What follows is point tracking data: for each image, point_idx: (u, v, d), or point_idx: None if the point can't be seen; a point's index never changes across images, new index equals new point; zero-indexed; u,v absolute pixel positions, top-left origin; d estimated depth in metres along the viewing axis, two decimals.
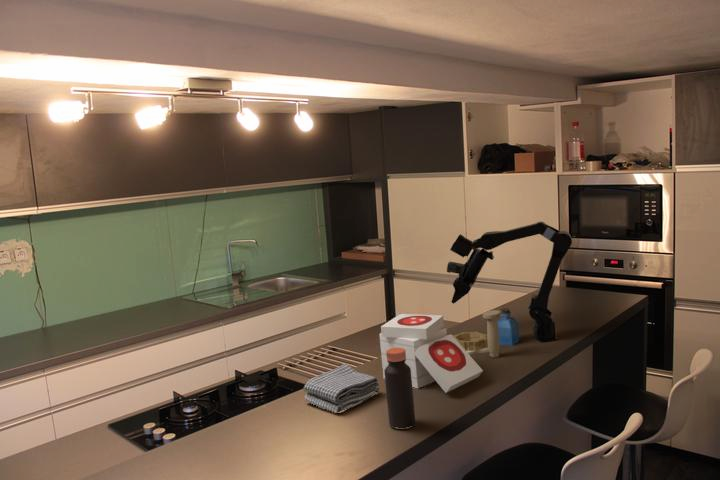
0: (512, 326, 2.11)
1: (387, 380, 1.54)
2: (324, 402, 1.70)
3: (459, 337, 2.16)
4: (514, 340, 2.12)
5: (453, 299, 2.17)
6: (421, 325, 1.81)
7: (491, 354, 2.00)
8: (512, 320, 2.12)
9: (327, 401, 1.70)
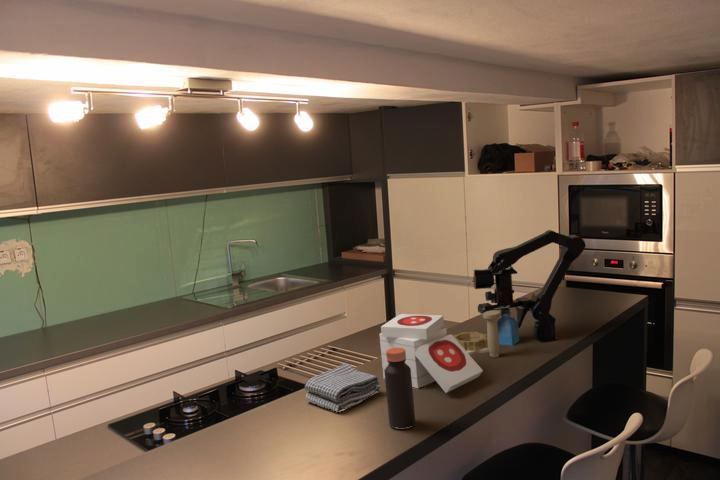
0: (512, 326, 2.11)
1: (387, 380, 1.54)
2: (325, 401, 1.71)
3: (459, 337, 2.16)
4: (514, 340, 2.12)
5: None
6: (421, 325, 1.81)
7: (491, 354, 2.00)
8: (511, 320, 2.12)
9: (328, 400, 1.71)
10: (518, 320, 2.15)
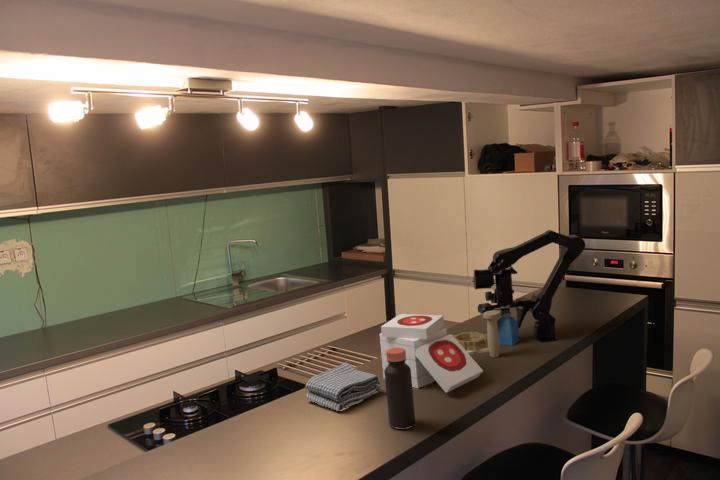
0: (512, 326, 2.11)
1: (387, 380, 1.54)
2: (325, 400, 1.71)
3: (459, 337, 2.16)
4: (514, 340, 2.12)
5: None
6: (422, 325, 1.81)
7: (491, 354, 2.00)
8: (511, 320, 2.12)
9: (329, 399, 1.71)
10: (518, 320, 2.15)
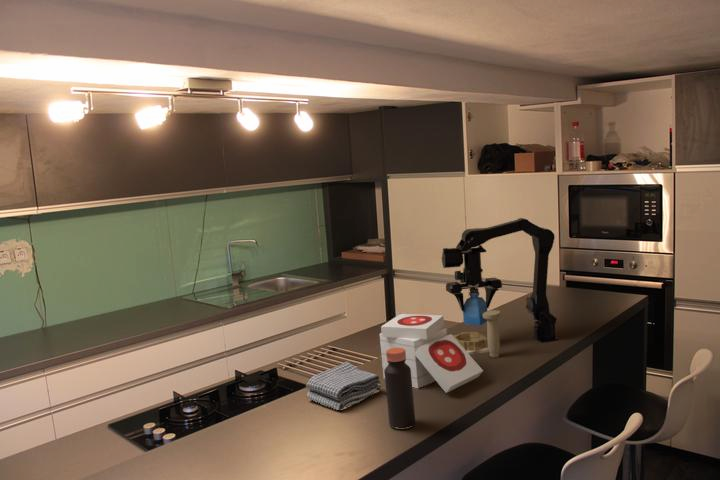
0: (480, 305, 2.08)
1: (387, 380, 1.54)
2: (326, 399, 1.72)
3: (459, 337, 2.16)
4: (482, 320, 2.09)
5: (460, 306, 2.10)
6: (422, 325, 1.81)
7: (491, 354, 2.00)
8: (480, 300, 2.09)
9: (329, 398, 1.72)
10: (486, 300, 2.11)
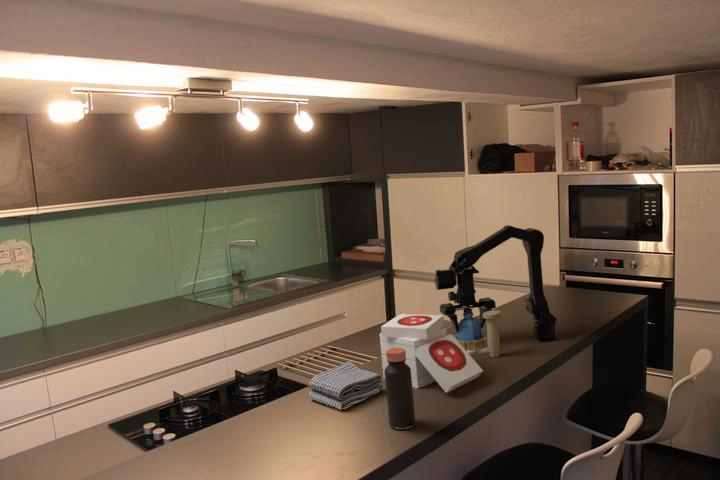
0: (474, 326, 2.08)
1: (387, 380, 1.54)
2: (328, 399, 1.72)
3: None
4: None
5: (454, 327, 2.11)
6: (422, 325, 1.81)
7: (491, 354, 2.00)
8: (474, 321, 2.10)
9: (331, 397, 1.72)
10: (481, 320, 2.12)
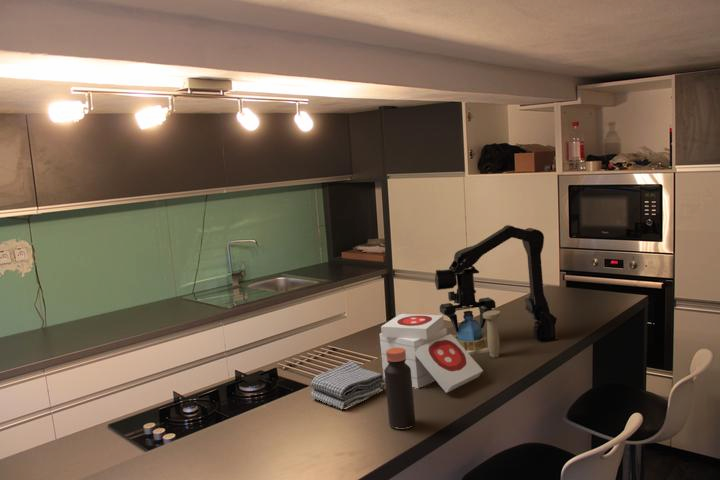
0: (475, 329, 2.09)
1: (387, 380, 1.54)
2: (330, 398, 1.73)
3: None
4: None
5: (454, 327, 2.11)
6: (422, 325, 1.82)
7: (491, 354, 2.00)
8: (474, 323, 2.10)
9: (333, 397, 1.72)
10: (481, 320, 2.12)
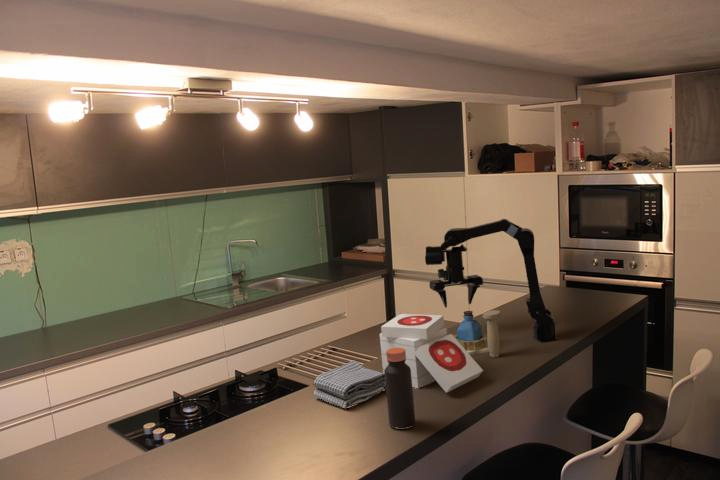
0: (475, 329, 2.09)
1: (387, 380, 1.54)
2: (333, 398, 1.73)
3: None
4: None
5: (443, 303, 2.19)
6: (422, 325, 1.82)
7: (491, 354, 2.00)
8: (474, 323, 2.10)
9: (336, 396, 1.73)
10: (469, 296, 2.20)
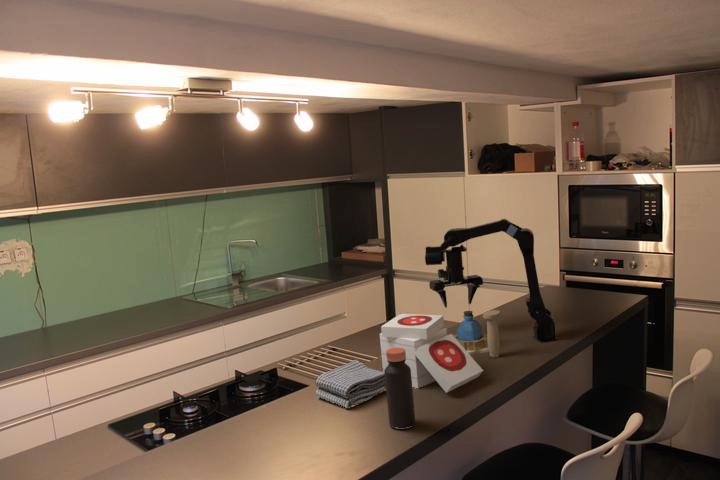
0: (475, 329, 2.09)
1: (387, 380, 1.54)
2: (335, 397, 1.73)
3: None
4: None
5: (443, 303, 2.20)
6: (422, 325, 1.82)
7: (491, 354, 2.00)
8: (474, 323, 2.10)
9: (338, 396, 1.73)
10: (469, 297, 2.21)
